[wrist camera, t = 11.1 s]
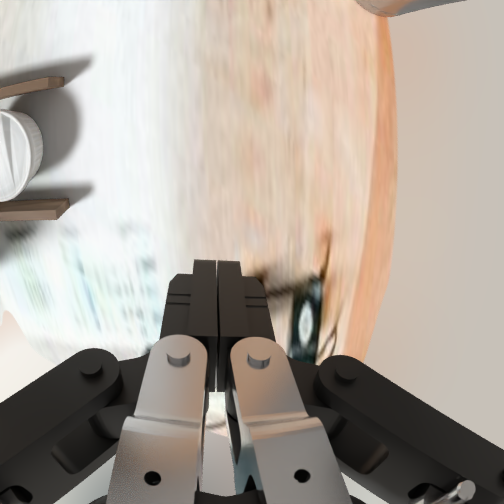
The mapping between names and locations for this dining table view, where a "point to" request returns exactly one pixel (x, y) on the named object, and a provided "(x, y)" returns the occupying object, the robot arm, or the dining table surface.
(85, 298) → the dining table surface
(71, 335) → the dining table surface
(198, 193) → the dining table surface
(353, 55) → the dining table surface
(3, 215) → the walnut bay
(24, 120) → the ramekin
